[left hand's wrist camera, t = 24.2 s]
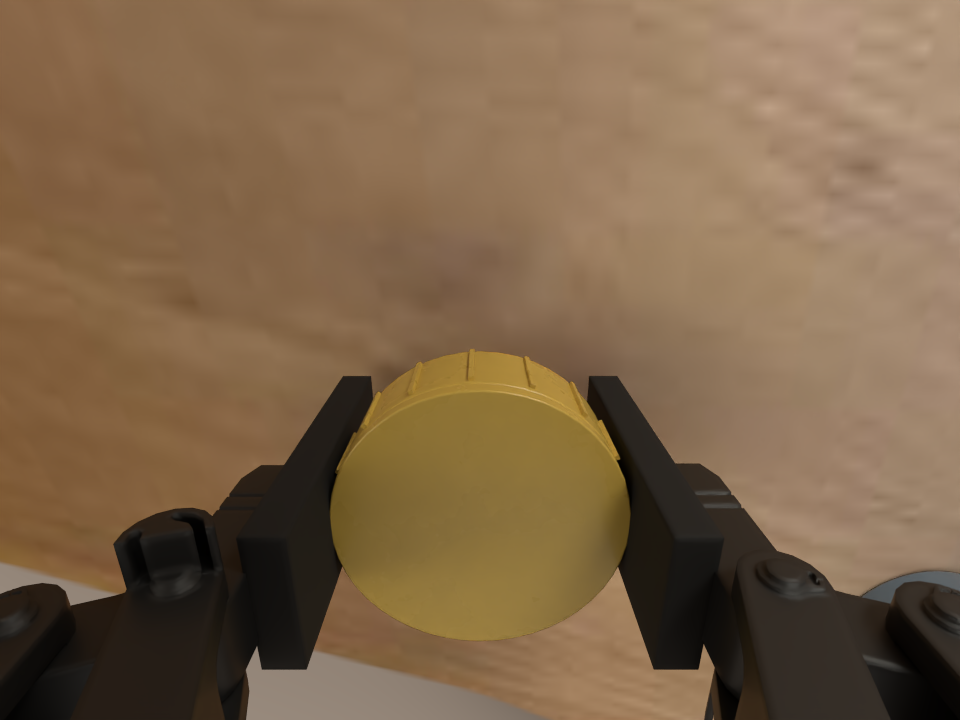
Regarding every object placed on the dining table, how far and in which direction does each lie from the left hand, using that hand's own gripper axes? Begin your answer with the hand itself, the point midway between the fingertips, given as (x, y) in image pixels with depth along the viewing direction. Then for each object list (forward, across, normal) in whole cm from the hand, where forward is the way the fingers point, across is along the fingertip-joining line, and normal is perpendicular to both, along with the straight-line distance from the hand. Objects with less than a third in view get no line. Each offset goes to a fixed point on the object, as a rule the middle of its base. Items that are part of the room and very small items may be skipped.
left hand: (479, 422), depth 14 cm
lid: (-4, 0, 0) cm, 4 cm away
